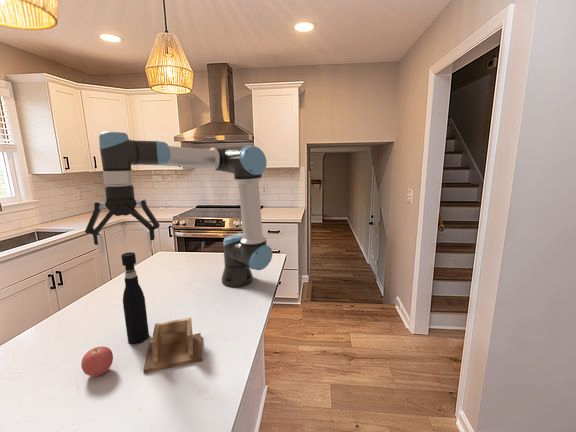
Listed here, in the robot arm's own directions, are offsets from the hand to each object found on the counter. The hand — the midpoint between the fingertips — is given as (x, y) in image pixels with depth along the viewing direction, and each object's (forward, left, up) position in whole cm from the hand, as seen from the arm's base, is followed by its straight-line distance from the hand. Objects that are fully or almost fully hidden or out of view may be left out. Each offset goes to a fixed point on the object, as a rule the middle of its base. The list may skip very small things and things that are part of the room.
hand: (126, 252), depth 92 cm
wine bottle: (0, 0, -31) cm, 31 cm away
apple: (+8, +14, -31) cm, 35 cm away
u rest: (-12, +12, -31) cm, 35 cm away
